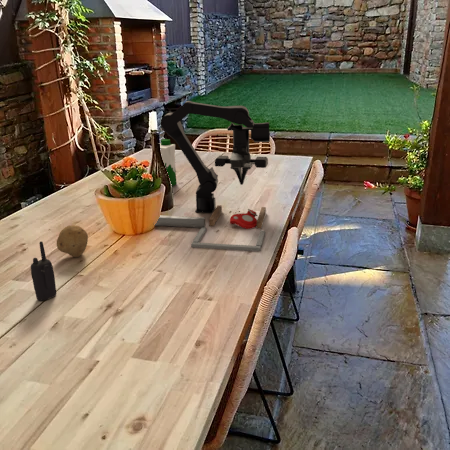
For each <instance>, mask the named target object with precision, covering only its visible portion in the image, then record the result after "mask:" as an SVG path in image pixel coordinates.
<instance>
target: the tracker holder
mask: <svg viewBox="0 0 450 450" xmlns="http://www.w3.org/2000/svg"><path fill="white" fill-rule="evenodd" d="M258 216H259V214H257V212H256V211H255V210H253V209H250V208H247V211H246V213H245V212H243V213H235V214H233V215H231V216H230V218H229V224H230V226H231V225H237V226H238V227H240V228H242V229H245V230H251V229H254V228H257V219H258V218H256V217H258Z"/></svg>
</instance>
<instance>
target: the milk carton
mask: <svg viewBox="0 0 450 450" xmlns="http://www.w3.org/2000/svg"><path fill="white" fill-rule="evenodd" d="M159 144H160V148H161V154H162V159H163V162H164V165H165V167H166V170H167V172H168V175H169V178H170V181H171V184H172V187H174V186H176V185H177V176H176V175H177V174H176V172H177V171H176V157H175V155H176V154H175V153H176V144H175V143H171V139H170V138H169V139H168V138H164V139H163V138H162V139H161V140H160V143H159Z"/></svg>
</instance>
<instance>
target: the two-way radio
mask: <svg viewBox="0 0 450 450" xmlns="http://www.w3.org/2000/svg"><path fill="white" fill-rule="evenodd" d="M39 251H40V257H41V259H40V260H39V259H38V258H37V257H33V258H32V263H31V264H30V273H31V274H30V275H31V280H32V283H33V284H32V285H33V289H34V293H35V297H36V299H37V301H38V302H39V301H40V302H43V301H47V300H49V299H51V298H53V297H55V296H56V295H57V287H56V280H55V279H56V278H55V272H54V271H55V270H54V266H53V264H52V262H51V260H49V258H47V257H46V251H45V246H44V243H43V241H39Z"/></svg>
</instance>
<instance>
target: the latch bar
mask: <svg viewBox="0 0 450 450" xmlns="http://www.w3.org/2000/svg"><path fill="white" fill-rule="evenodd" d="M159 215H160V214H159ZM206 225H207V223H206V217H200V216H181V215H180V216H178V215H160V217H159V219H158V221H157V223H156V224H155V225H154V226H159V227H160V226H163V227H179V228H180V227H183V228H200V229H201V228H202V227H204V228H206Z"/></svg>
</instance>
